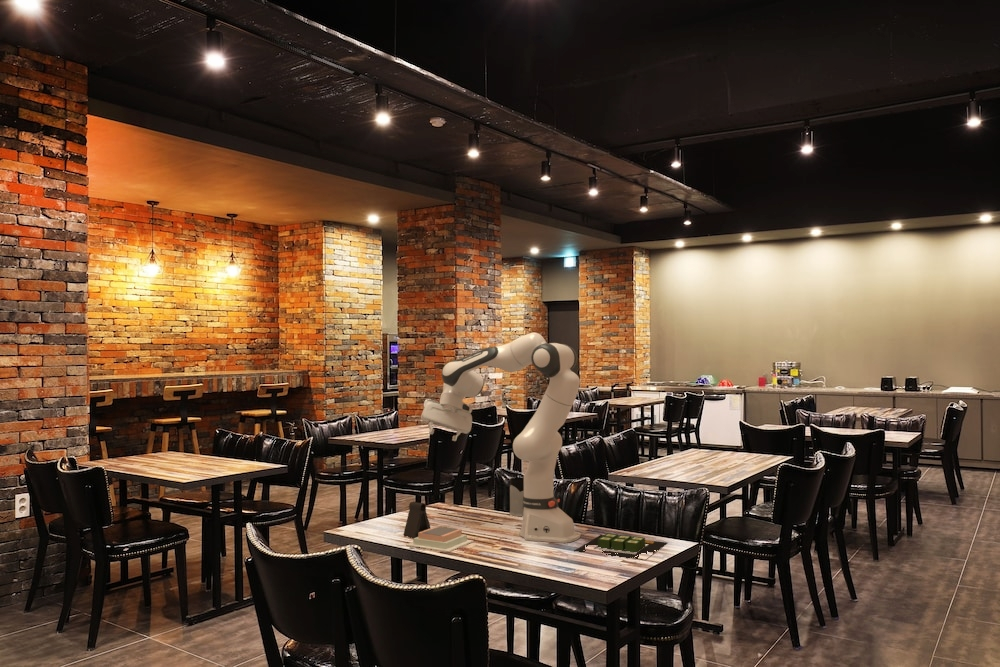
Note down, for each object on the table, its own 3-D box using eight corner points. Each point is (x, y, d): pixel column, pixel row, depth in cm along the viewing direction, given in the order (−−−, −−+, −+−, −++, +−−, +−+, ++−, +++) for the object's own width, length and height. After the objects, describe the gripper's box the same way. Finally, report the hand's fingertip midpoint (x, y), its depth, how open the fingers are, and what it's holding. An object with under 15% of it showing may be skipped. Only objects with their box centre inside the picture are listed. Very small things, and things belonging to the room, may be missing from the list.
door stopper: (420, 531, 281) (420, 499, 281) (432, 533, 277) (431, 501, 277) (403, 536, 274) (403, 503, 274) (414, 538, 270) (414, 505, 270)
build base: (473, 541, 264) (473, 528, 265) (448, 552, 251) (448, 538, 251) (432, 536, 273) (432, 523, 274) (406, 545, 260) (406, 532, 260)
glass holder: (504, 514, 310) (504, 478, 311) (532, 510, 318) (531, 475, 319) (516, 517, 303) (516, 481, 304) (544, 513, 311) (544, 477, 311)
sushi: (667, 545, 260) (667, 534, 261) (645, 562, 239) (645, 551, 239) (600, 537, 272) (600, 527, 273) (573, 553, 251) (573, 542, 251)
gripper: (427, 394, 289) (419, 426, 282) (476, 409, 293) (469, 441, 286) (423, 400, 294) (415, 432, 287) (471, 415, 298) (464, 446, 291)
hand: (442, 437), depth 287 cm, fingers open, 8 cm apart
